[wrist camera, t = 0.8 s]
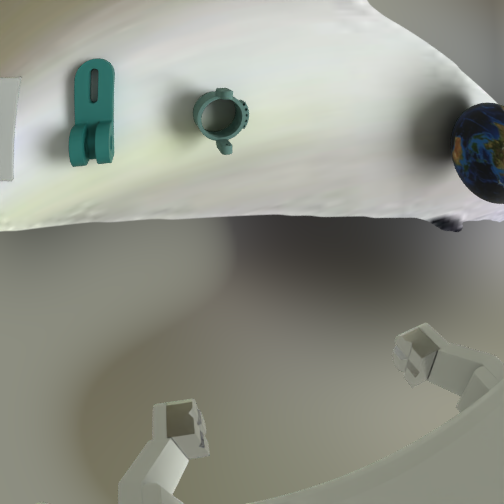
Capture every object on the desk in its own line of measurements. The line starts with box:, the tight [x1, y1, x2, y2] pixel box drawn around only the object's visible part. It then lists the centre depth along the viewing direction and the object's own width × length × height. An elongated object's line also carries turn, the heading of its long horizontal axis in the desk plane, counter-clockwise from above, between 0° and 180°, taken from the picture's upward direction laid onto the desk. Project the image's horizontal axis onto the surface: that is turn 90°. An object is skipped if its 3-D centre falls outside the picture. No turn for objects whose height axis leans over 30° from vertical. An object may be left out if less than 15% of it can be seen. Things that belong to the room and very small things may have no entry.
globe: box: [451, 103, 504, 204], centre depth 59 cm, size 30×30×30 cm
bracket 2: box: [193, 88, 249, 155], centre depth 46 cm, size 9×9×9 cm
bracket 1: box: [69, 59, 115, 167], centre depth 38 cm, size 18×7×8 cm, turn 172°
